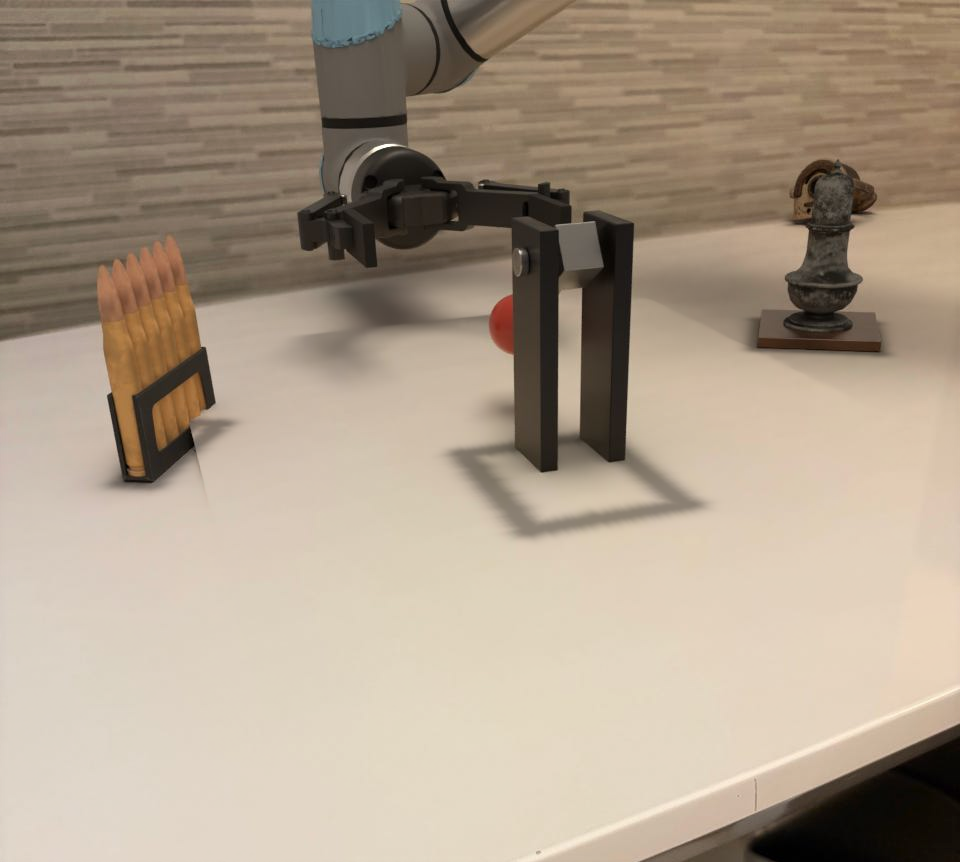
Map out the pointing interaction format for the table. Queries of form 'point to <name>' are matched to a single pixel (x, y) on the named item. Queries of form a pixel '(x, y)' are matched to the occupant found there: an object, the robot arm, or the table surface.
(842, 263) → the salt shaker
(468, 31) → the robot arm
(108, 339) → the ammunition clip
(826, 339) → the coaster
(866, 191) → the mechanical counter
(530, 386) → the bracket
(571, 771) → the table surface
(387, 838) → the table surface
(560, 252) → the lever
